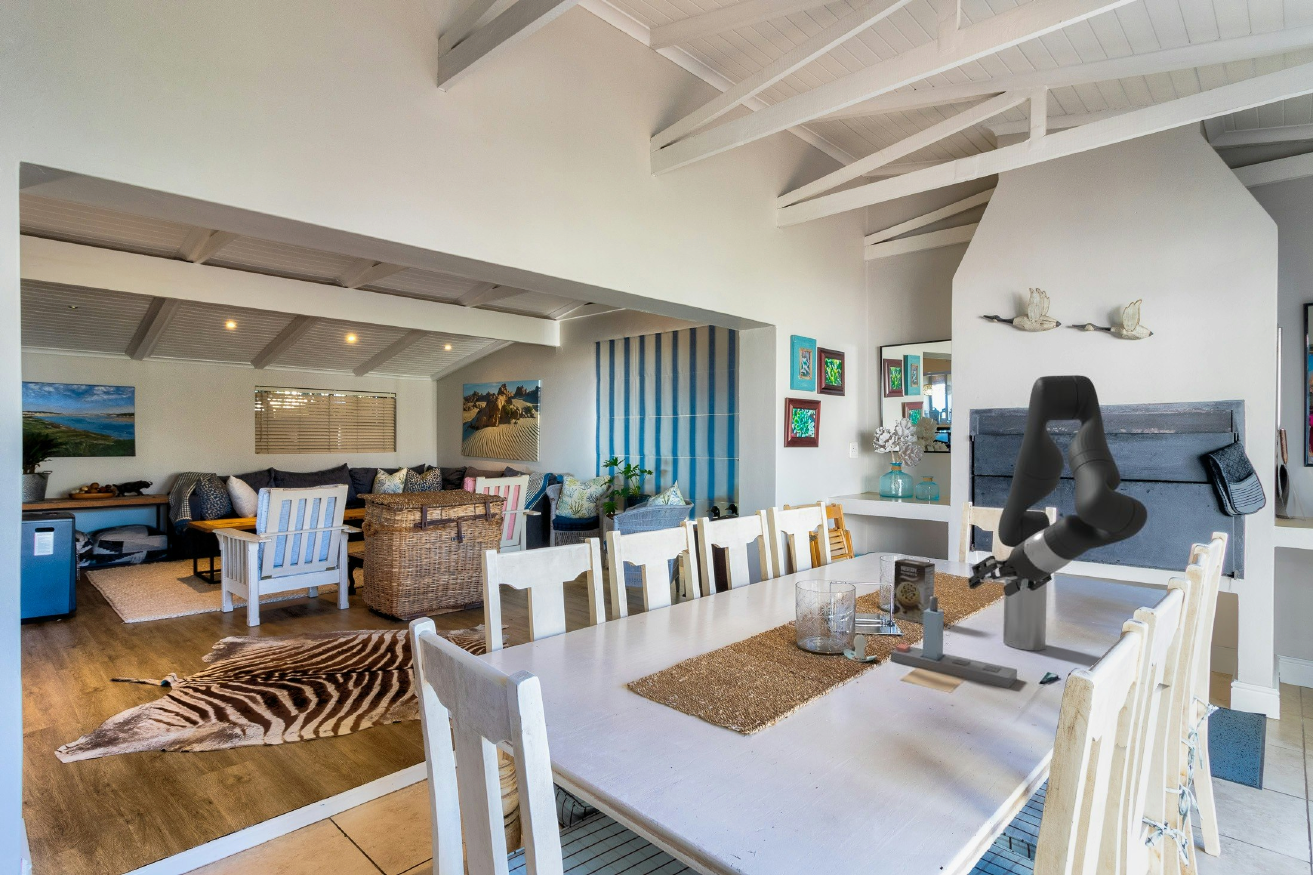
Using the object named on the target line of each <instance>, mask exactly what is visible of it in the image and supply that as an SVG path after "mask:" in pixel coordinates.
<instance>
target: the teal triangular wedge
mask: <svg viewBox="0 0 1313 875" xmlns="http://www.w3.org/2000/svg"><path fill="white" fill-rule="evenodd" d="M1057 680H1059V674H1056V673H1052V672H1049V671H1047V672H1046V674H1045V675H1044V676H1043V677H1042V679H1041V680H1040V681H1039V683H1038V685H1047V684H1049V683H1052V682H1054V681H1057Z"/></svg>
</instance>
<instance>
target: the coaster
mask: <svg viewBox="0 0 1313 875" xmlns="http://www.w3.org/2000/svg"><path fill="white" fill-rule="evenodd" d="M965 680H966V678H961V677H957V676H953V675H949V674H944V673H940V672H936V671H931V670H927V669H923V668H918V667H915V669H913V670H912V671H910V672H909V673H907V674H906V675H905V676H903V677H902V678H901V679H900V681H902V682H906V683H908V684H909V683H910V684H913V685H918V686H922V687H926V688H929V689H934V690H937V691H941V692H945V693H949V694H951V693H952V692H953V691H955V689H957V688H958V687H959V686H960V685H961V684H962V683H963V682H964V681H965Z"/></svg>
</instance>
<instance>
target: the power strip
mask: <svg viewBox="0 0 1313 875" xmlns="http://www.w3.org/2000/svg"><path fill="white" fill-rule="evenodd" d="M890 662H893V663H897V664H903V665H907V666H910V667H915V668H920V669H925V670H929V671H933V672H938V673H942V674H946V675H950V676H955V677H959V678H963V679H965V680H972V681H975V682H980V683H984V684H987V685H993V686H997V687H1001V688H1005V689H1010V687H1011V686H1012V685H1013V684H1014V683H1015V682H1016V681H1017V679H1018V669H1017V668H1012V667H1008V666H1004V665H1003V666H1002V665H998V664H994V663H988V662H985V661H984V662H983V661H980V660H977V659H970V658H966V657H961V656H956V655H952V654H947V653H943V658H942V659H940V660H939V661H936V660H931V659H927V658H923V648H919V647H916V646H914V647H913V646H911V645H910V644H904V643H900V644H898V645H897V646H895V649H893V650H892V651H890Z"/></svg>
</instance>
